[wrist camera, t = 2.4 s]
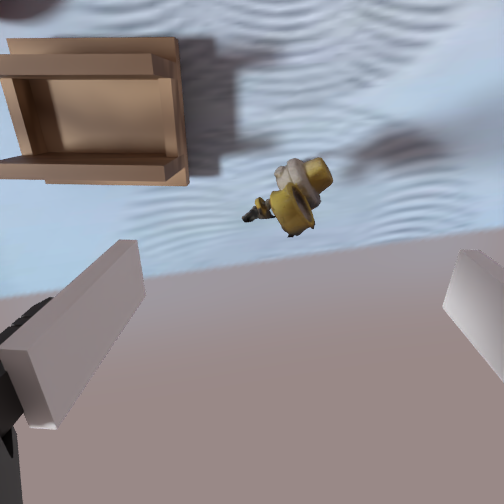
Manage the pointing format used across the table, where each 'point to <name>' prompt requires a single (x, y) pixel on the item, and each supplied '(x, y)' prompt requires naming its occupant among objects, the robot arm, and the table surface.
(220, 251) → the table surface
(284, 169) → the regulator
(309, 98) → the table surface
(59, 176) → the stand
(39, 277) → the table surface
